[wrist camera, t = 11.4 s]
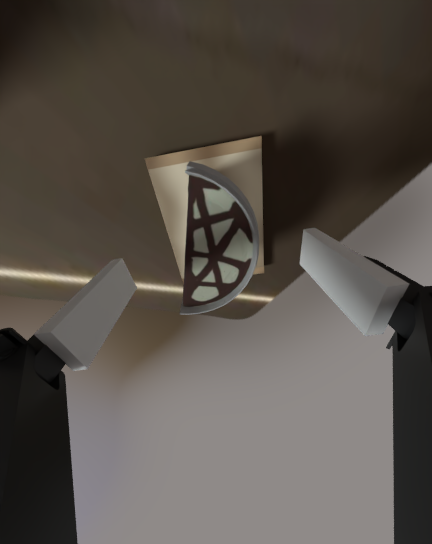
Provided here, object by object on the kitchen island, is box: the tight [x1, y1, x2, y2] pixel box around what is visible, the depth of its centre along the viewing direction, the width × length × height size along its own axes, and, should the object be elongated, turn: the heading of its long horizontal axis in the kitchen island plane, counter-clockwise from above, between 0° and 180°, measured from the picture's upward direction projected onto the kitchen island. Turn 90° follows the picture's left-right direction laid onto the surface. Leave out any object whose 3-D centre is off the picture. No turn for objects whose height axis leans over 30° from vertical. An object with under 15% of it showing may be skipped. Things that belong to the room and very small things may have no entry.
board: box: [145, 136, 264, 283], centre depth 22 cm, size 12×16×2 cm
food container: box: [180, 161, 260, 314], centre depth 17 cm, size 12×6×10 cm, turn 172°
